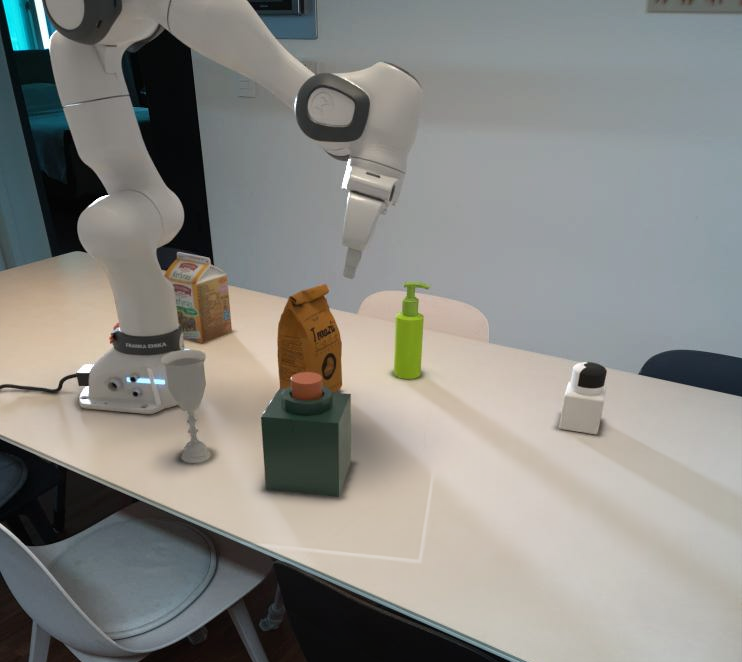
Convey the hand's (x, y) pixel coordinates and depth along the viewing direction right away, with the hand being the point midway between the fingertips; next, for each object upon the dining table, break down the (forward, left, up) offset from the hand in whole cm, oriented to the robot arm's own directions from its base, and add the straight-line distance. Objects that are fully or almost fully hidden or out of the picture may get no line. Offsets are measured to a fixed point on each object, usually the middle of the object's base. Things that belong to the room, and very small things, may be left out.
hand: (348, 277), depth 114 cm
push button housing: (-6, -11, -30) cm, 33 cm away
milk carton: (-36, +60, -30) cm, 76 cm away
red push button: (-6, -11, -15) cm, 20 cm away
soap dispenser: (+14, +34, -30) cm, 47 cm away
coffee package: (-7, +22, -30) cm, 38 cm away
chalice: (-26, -4, -30) cm, 40 cm away
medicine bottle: (+45, +9, -30) cm, 55 cm away
